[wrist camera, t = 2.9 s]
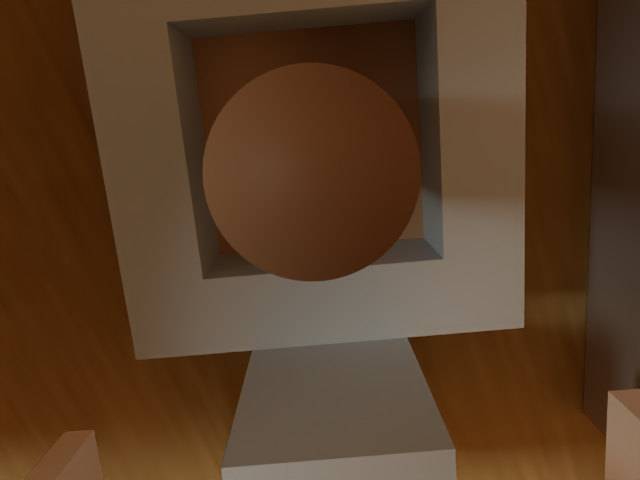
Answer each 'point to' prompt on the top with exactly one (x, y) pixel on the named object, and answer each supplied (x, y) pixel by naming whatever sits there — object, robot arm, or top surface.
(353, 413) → the ring
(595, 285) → the tray
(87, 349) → the top surface
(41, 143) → the top surface
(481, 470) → the top surface
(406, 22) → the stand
